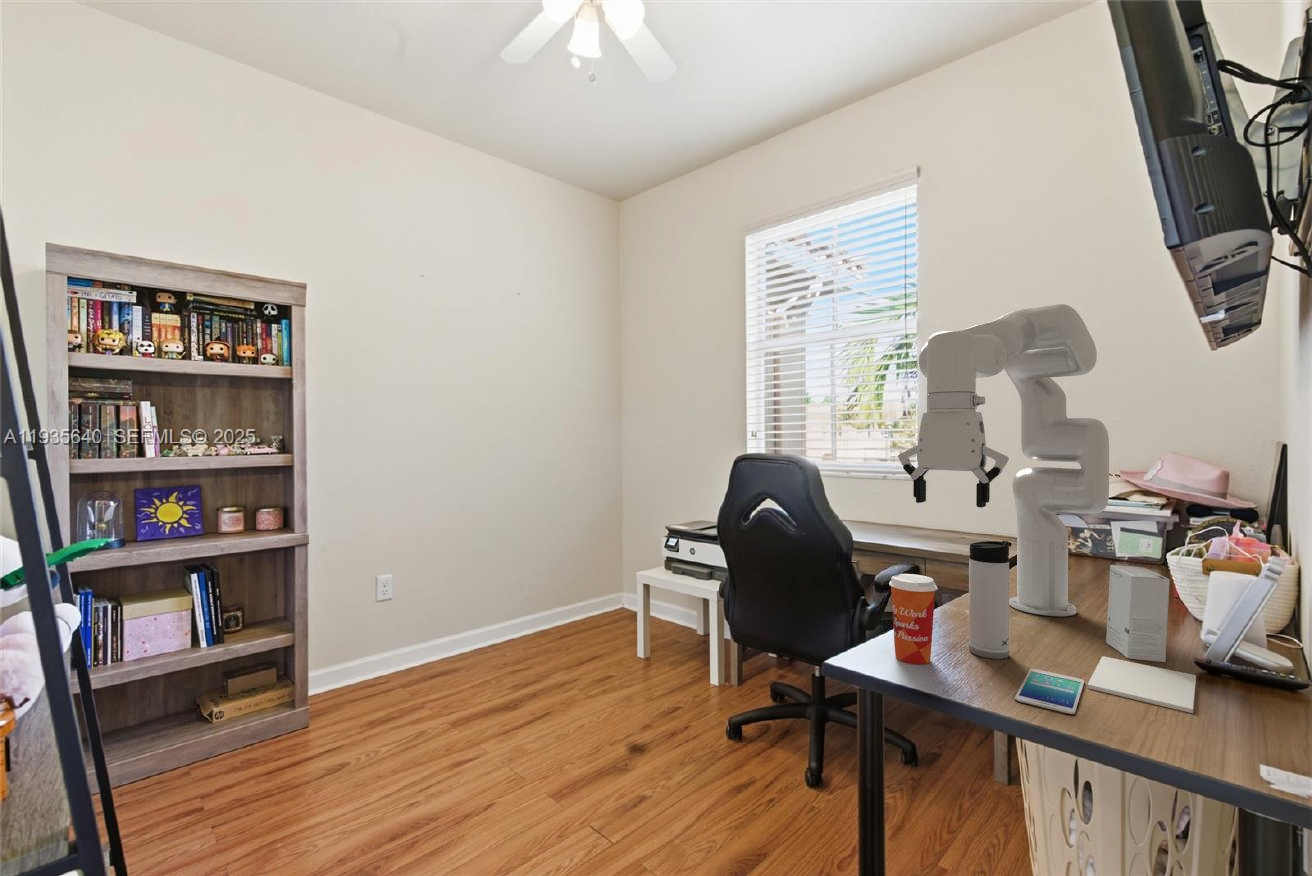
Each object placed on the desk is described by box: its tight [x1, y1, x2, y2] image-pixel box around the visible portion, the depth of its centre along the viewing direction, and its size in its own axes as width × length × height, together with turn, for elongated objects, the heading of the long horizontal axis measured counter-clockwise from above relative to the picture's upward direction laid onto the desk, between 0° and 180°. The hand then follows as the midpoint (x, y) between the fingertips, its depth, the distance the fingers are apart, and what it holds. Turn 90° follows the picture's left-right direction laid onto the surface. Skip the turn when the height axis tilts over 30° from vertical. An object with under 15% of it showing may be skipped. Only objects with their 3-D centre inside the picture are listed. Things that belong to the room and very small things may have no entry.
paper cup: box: [888, 573, 938, 666], centre depth 103 cm, size 8×8×14 cm
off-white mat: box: [1087, 655, 1197, 714], centre depth 93 cm, size 16×12×1 cm
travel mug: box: [968, 540, 1012, 660], centre depth 106 cm, size 6×7×20 cm
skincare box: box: [1105, 564, 1170, 663], centre depth 106 cm, size 8×6×15 cm
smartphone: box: [1014, 668, 1085, 717], centre depth 90 cm, size 8×1×15 cm
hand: (950, 504), depth 102 cm, fingers open, 9 cm apart
